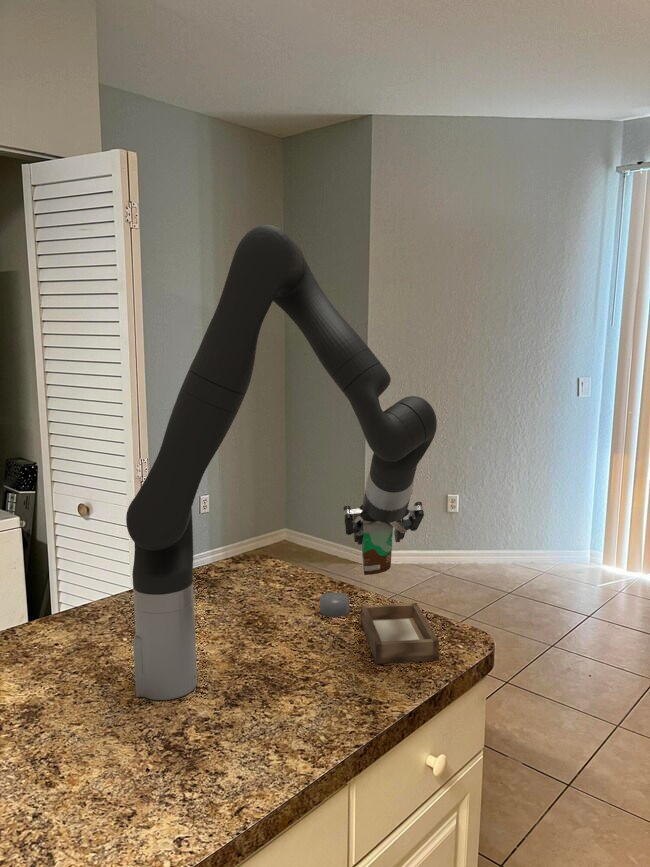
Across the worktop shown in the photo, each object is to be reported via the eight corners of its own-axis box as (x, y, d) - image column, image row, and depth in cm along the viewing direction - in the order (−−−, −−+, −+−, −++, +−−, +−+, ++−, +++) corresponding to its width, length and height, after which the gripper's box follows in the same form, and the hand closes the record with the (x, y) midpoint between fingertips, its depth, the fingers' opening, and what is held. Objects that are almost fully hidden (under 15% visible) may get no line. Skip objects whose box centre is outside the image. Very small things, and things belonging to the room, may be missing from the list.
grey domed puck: (321, 618, 138) (321, 604, 138) (318, 606, 144) (318, 593, 144) (351, 617, 139) (351, 602, 138) (347, 605, 145) (347, 591, 144)
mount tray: (375, 664, 119) (375, 644, 118) (361, 623, 135) (361, 605, 135) (438, 660, 120) (439, 641, 119) (416, 620, 136) (416, 603, 136)
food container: (400, 577, 119) (399, 520, 118) (364, 578, 119) (363, 521, 118) (394, 554, 131) (393, 503, 130) (362, 555, 132) (361, 504, 130)
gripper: (427, 468, 116) (413, 518, 129) (342, 472, 115) (336, 523, 128) (436, 507, 112) (420, 555, 125) (347, 512, 110) (340, 560, 124)
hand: (377, 538), depth 126 cm, fingers closed on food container, 6 cm apart
